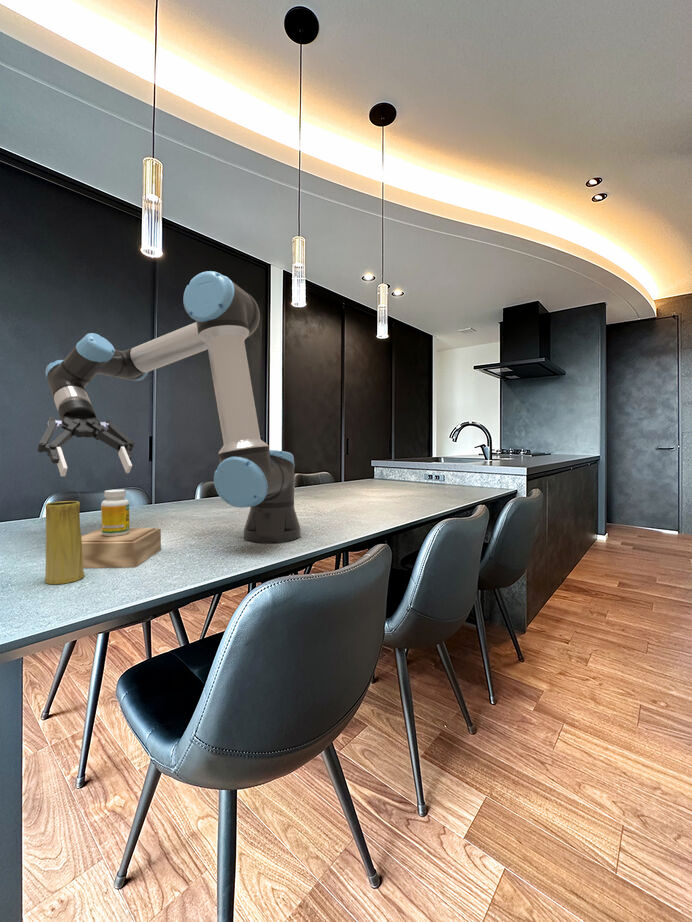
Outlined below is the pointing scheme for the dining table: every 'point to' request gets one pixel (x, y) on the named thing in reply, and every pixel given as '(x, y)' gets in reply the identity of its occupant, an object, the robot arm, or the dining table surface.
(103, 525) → the supplement bottle
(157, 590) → the dining table surface
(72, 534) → the vase
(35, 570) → the dining table surface
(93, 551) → the stand
